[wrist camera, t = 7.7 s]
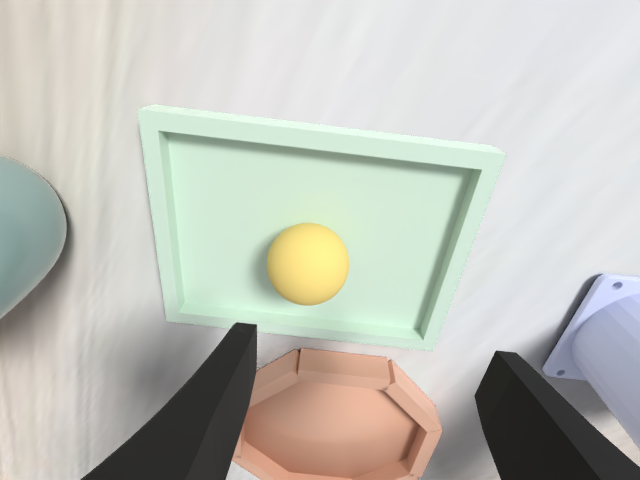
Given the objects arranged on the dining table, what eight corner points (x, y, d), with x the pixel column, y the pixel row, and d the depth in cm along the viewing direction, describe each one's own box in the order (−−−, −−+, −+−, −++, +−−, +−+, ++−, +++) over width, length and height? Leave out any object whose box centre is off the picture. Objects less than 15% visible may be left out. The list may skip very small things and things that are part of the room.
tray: (493, 145, 16) (506, 154, 15) (427, 333, 22) (433, 351, 21) (153, 104, 16) (137, 108, 15) (176, 305, 22) (166, 321, 21)
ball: (355, 216, 18) (360, 257, 14) (340, 279, 20) (340, 329, 16) (277, 203, 18) (263, 241, 14) (270, 268, 20) (255, 316, 16)
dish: (454, 365, 24) (462, 387, 22) (404, 483, 31) (407, 506, 29) (232, 340, 23) (224, 361, 22) (234, 465, 31) (228, 487, 29)
